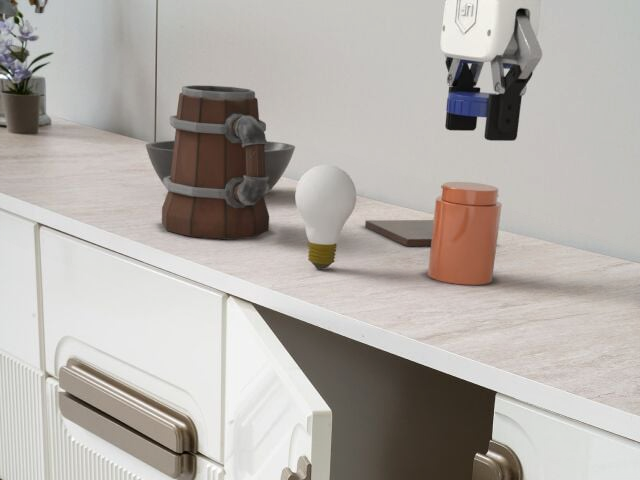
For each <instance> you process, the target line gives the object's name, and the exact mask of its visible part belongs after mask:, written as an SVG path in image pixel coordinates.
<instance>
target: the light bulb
mask: <svg viewBox="0 0 640 480" xmlns="http://www.w3.org/2000/svg"><path fill="white" fill-rule="evenodd" d="M294 197H295V206H296V208H297V210H298V213H299V215H300V217H301V219H302V221H303V223H304V227H305V228H304V229H305V234H306V237H307V240H308V242H307V243H308V248H307V249H308V252H307V254H308V255H307V256H308V258H307V259H308V262H310V263H311V264H312V265H313V266H314V268H316V269H317V270H326V269H328V267H330V266H331V265H332V264H333V263H335V259H336V251H337V250H336V248H337V246H338V245H337V243H338V241H339V240H340V237H341V232H342V230H343V228H344V226H345V225H346V222H347V221H348V219H349V218H350V217H351V216H352V214H353V212H354V210H355V207H356V203H357V189H356V186H355V183H354V182H353V179H352V178H351V176H350V175H349V174H348V172H346V171H345V170H344V169H342V168H340V167H338V166H336V165H333V164H320V165H316V166H314V167H311V168H309V170H307V171H306V172H304V173H303V175H302V176H301V178H300V179H299V181H298V182H297V185H296V188H295V195H294Z"/></svg>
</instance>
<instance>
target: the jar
mask: <svg viewBox="0 0 640 480" xmlns="http://www.w3.org/2000/svg"><path fill="white" fill-rule="evenodd" d="M440 189H441V195H439V196H436V197H435V204H434V213H433V220H434V221H433V230H432V240H431V246H430V248H429V250H430V251H429V260H428V268H427V276H428V277H429V278H431V279H433V280H436V281H439V282H443V283H448V284H453V285H455V284H456V285H464V286H467V285H468V286H478V285H486V284H490V283H492V281H493V275H494V269H495V260H496V252H497V246H498V237H499V229H500V223H501V222H500V221H501V213H502V207H503V206H502V205H503V204H502V202H500V201H498V198H499V196H500V195H499V188H498V187H497V186H494V185H490V184H485V183H479V182H469V181H447V182H444V183H442V184H441V187H440Z"/></svg>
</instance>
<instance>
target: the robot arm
mask: <svg viewBox="0 0 640 480" xmlns="http://www.w3.org/2000/svg"><path fill="white" fill-rule="evenodd" d="M541 3H542V0H445V2H444V8H443V14H442V15H443V16H442V23H441V31H440V44H439V45H440V46H439V47H440V50H441V52H442V53H443V55H444V57H445V67H446V69H447V72H448V74H447V77H446V84H447V86H448V92H447V93H448V94H449V92H481V87H478V86H477V84H478V81H479V79H480V76H481V72H482V70H483V67H484V65H485V63H490V70H491V71H490V72H491V79H492V88H493V93H495V94H489V98H488V107H487V117H485V127H484V134H483V135H484V136H483V137H484V139H485V140H487V141H491V142H492V141H493V142H494V141H495V142H498V141H499V142H501V141H502V142H503V141H505V142H506V141H507V142H511V141H516V140H517V138H518V132H519V125H520V123H519V122H520V114H521V107H522V99H523V98H522V97H523V96H525V95H526V92H527V84H528V83H529V81H530V80H531V79H532V76H533V72H534V71H535V69H536V68H537V66H538V64H539V63H540V62H541V60H542V57H543V51H542V48H541V45H540V43H539V41H538V34H539V25H540V15H541ZM470 64H471V65H470ZM469 65H470V66H469ZM505 70H508V71H507V73H506V74H505ZM448 94H447V95H448ZM445 114H446V115H445V124H444V126H445V129H446V130H447V131H459V132H460V131H467V132H468V131H470V132H473V131H475V130H476V129H477V124H478V117H474V116H465V115H457V114H452V113H449V112H447V111H446V113H445Z"/></svg>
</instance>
